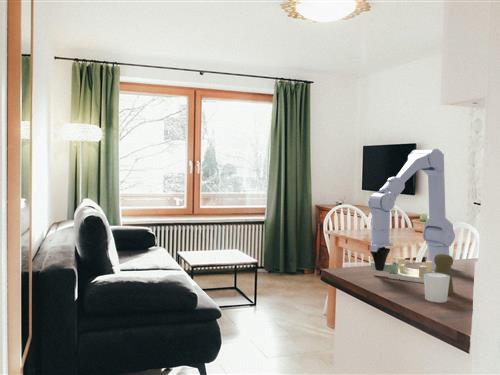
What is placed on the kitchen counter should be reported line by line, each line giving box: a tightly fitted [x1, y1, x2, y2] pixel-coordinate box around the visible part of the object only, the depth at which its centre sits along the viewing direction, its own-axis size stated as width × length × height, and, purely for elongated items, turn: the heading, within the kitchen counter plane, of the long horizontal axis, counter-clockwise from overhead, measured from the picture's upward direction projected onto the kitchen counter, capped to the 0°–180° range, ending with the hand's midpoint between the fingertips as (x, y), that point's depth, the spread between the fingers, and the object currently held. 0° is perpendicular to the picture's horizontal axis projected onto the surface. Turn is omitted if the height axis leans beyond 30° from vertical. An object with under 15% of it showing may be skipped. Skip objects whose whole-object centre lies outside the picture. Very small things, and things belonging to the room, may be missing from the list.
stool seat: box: [388, 257, 435, 284], centre depth 152 cm, size 12×12×5 cm
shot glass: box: [423, 271, 450, 304], centre depth 126 cm, size 7×7×7 cm
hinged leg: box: [370, 261, 398, 273], centre depth 153 cm, size 9×2×3 cm, turn 57°
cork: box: [434, 254, 454, 295], centre depth 135 cm, size 6×6×11 cm
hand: (379, 270), depth 150 cm, fingers closed
